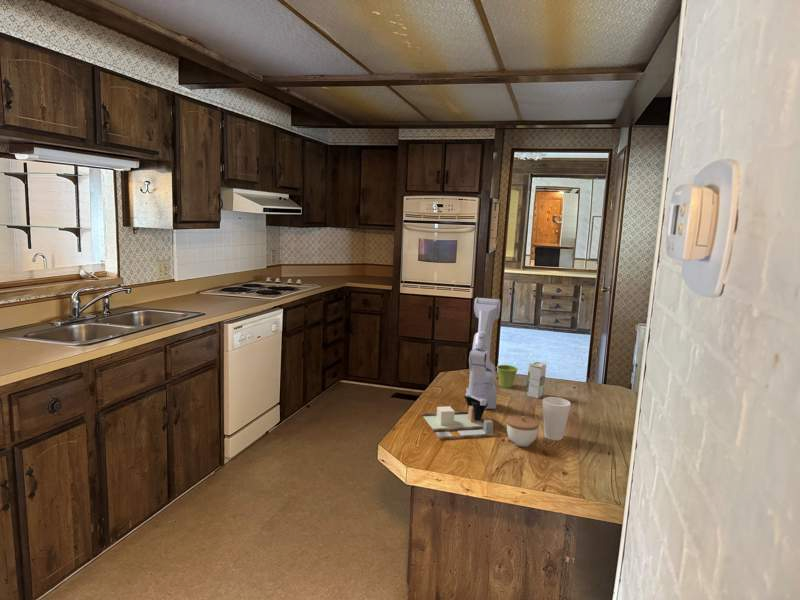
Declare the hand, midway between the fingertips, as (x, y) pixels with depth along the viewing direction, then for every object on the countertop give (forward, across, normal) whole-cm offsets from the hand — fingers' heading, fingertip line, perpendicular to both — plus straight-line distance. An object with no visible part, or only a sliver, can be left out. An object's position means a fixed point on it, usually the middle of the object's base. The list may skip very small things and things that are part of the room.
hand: (474, 417), depth 204 cm
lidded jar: (+2, +19, +10) cm, 21 cm away
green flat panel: (+2, 0, -8) cm, 8 cm away
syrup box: (+2, -26, +38) cm, 47 cm away
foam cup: (+2, +16, +24) cm, 29 cm away
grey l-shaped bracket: (+2, +11, -4) cm, 12 cm away
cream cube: (+1, 0, -12) cm, 12 cm away
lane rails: (+2, +4, -8) cm, 9 cm away
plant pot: (+2, -40, +32) cm, 51 cm away
